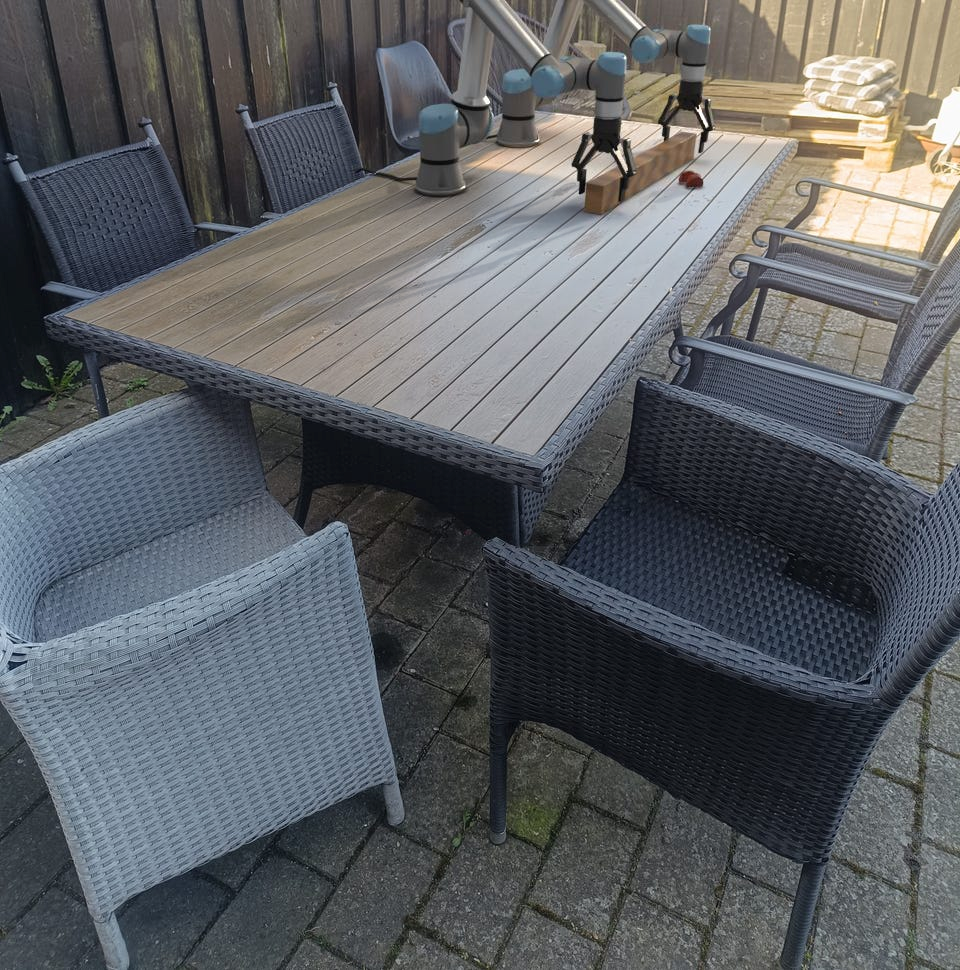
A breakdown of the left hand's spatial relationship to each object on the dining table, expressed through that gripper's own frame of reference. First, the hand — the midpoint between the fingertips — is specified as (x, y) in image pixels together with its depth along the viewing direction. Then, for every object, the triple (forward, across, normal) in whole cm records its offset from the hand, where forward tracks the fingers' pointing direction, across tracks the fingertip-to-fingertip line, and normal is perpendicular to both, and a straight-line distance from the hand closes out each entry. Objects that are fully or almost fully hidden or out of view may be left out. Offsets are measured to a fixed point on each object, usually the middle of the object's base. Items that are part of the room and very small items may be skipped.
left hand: (601, 196), depth 241 cm
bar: (+3, 0, -31) cm, 31 cm away
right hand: (0, 0, -62) cm, 62 cm away
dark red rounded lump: (+3, -13, -36) cm, 39 cm away
